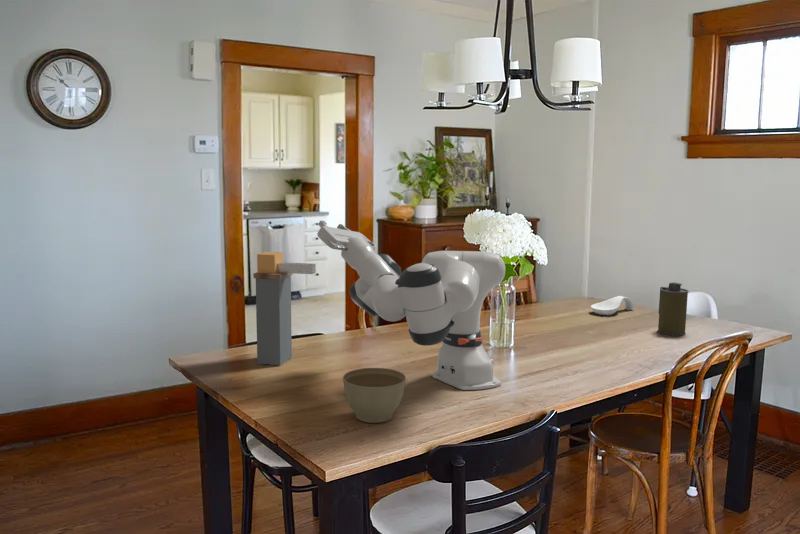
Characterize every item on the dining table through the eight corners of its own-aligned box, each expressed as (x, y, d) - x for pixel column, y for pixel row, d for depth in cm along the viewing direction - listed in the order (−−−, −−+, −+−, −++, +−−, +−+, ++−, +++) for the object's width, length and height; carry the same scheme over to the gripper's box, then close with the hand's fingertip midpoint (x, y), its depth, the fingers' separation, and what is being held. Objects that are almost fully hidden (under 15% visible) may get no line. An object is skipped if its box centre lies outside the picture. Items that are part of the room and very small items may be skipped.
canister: (691, 333, 274) (694, 283, 271) (675, 337, 268) (678, 286, 265) (666, 328, 282) (670, 279, 280) (651, 331, 277) (654, 282, 274)
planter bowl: (332, 423, 174) (332, 381, 173) (358, 403, 189) (358, 364, 188) (391, 432, 169) (391, 389, 167) (413, 411, 184) (414, 371, 182)
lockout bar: (317, 272, 226) (317, 253, 225) (310, 275, 219) (310, 256, 218) (266, 269, 229) (265, 251, 229) (257, 272, 223) (257, 254, 222)
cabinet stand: (293, 357, 234) (292, 269, 230) (281, 366, 223) (279, 274, 219) (268, 355, 236) (267, 268, 231) (255, 364, 225) (253, 273, 221)
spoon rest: (605, 318, 301) (606, 302, 300) (584, 313, 310) (585, 298, 309) (640, 312, 314) (641, 297, 313) (619, 308, 324) (619, 293, 323)
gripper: (328, 256, 208) (303, 228, 214) (369, 261, 225) (344, 235, 231) (340, 239, 206) (314, 212, 212) (379, 246, 223) (354, 220, 229)
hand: (330, 224), depth 222 cm, fingers open, 8 cm apart
